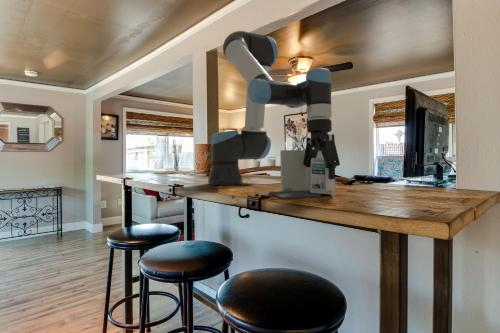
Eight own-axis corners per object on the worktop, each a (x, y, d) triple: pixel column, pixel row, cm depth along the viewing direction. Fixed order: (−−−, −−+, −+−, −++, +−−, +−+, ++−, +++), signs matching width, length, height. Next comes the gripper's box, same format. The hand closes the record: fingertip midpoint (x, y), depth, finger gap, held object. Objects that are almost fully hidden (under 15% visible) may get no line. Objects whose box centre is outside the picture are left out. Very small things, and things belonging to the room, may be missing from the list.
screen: (279, 190, 101) (279, 150, 101) (326, 188, 106) (325, 150, 105) (283, 191, 98) (283, 150, 97) (331, 189, 102) (331, 149, 101)
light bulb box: (333, 195, 86) (335, 158, 86) (309, 193, 87) (312, 157, 87) (329, 191, 96) (331, 159, 96) (308, 190, 97) (310, 158, 97)
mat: (269, 193, 93) (269, 191, 93) (303, 192, 96) (303, 190, 96) (282, 199, 82) (282, 197, 82) (321, 197, 84) (321, 195, 84)
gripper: (293, 124, 102) (293, 185, 102) (327, 113, 78) (328, 193, 79) (312, 124, 104) (313, 184, 104) (352, 113, 80) (353, 191, 81)
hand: (320, 188), depth 91 cm, fingers closed on light bulb box, 12 cm apart
